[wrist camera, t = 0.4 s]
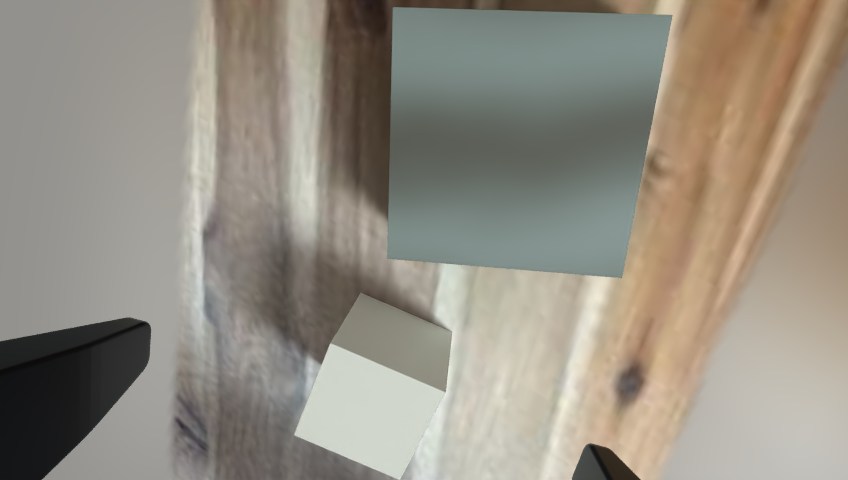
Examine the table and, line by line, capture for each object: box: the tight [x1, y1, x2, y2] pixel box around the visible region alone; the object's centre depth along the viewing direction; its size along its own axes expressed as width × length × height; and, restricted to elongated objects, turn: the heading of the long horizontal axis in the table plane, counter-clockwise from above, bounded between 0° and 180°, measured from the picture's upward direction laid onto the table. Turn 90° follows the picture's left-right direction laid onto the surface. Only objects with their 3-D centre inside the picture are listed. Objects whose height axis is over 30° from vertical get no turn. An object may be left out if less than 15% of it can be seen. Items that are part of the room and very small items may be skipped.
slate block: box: [387, 7, 672, 278], centre depth 18 cm, size 9×9×4 cm
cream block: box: [294, 293, 452, 480], centre depth 21 cm, size 5×5×5 cm
